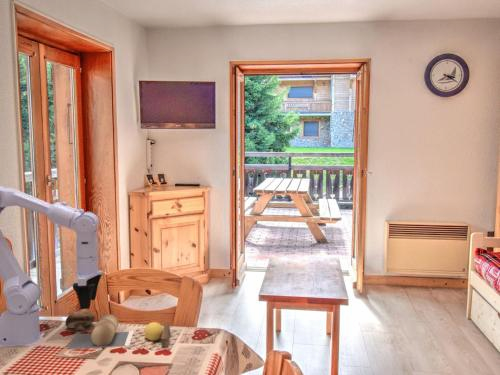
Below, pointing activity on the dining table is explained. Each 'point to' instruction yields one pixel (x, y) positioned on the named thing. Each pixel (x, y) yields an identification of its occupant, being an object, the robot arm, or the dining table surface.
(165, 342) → the end rail
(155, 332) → the ball
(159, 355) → the dining table surface
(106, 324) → the roller
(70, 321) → the mushroom
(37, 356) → the dining table surface
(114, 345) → the grey board
